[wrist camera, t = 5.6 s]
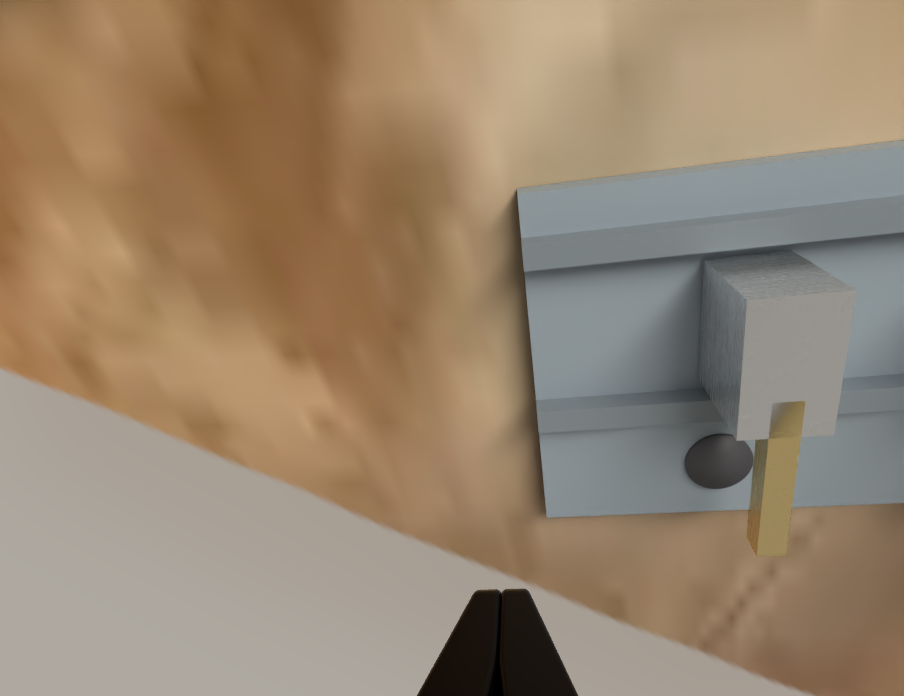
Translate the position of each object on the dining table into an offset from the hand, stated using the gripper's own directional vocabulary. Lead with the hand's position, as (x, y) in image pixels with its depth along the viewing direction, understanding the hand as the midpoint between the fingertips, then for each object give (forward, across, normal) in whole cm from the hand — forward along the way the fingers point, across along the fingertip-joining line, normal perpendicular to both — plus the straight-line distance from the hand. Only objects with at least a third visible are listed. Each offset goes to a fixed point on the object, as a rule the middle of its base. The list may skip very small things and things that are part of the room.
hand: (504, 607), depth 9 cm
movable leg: (+10, -7, +2) cm, 13 cm away
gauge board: (+12, -9, +2) cm, 14 cm away
